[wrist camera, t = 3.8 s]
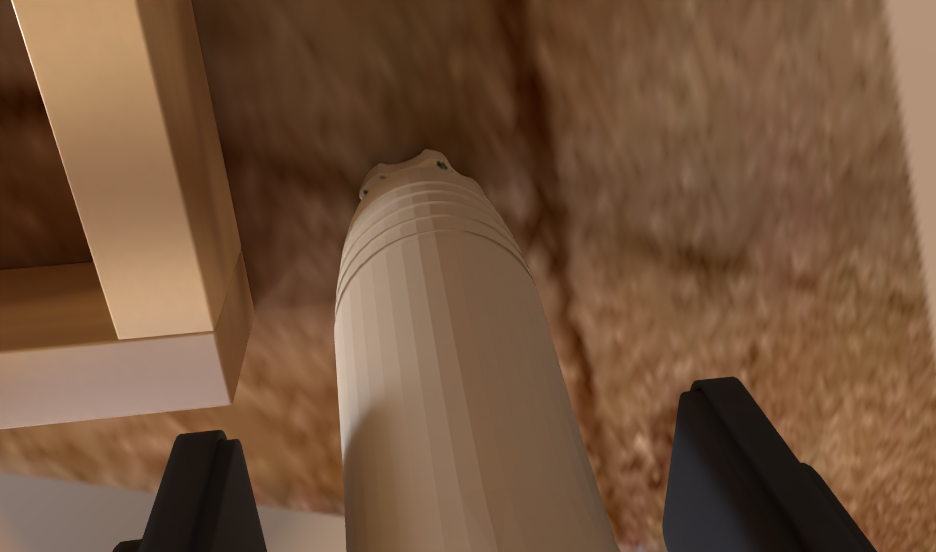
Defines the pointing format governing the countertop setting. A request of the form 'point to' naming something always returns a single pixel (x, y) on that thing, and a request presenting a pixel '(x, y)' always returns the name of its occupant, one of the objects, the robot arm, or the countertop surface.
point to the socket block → (127, 225)
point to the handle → (452, 380)
